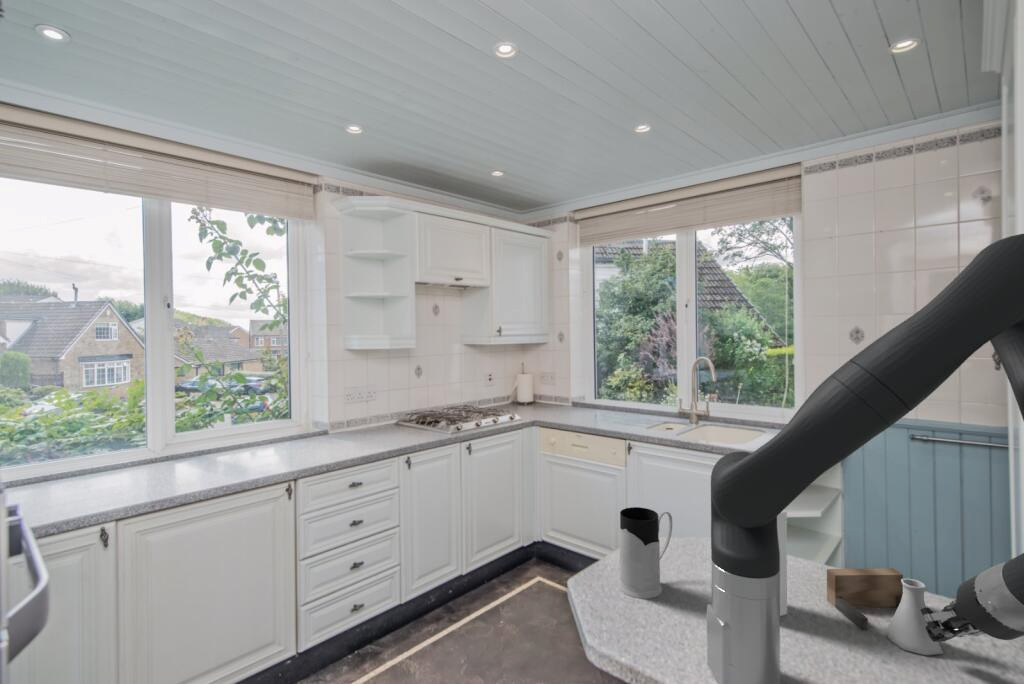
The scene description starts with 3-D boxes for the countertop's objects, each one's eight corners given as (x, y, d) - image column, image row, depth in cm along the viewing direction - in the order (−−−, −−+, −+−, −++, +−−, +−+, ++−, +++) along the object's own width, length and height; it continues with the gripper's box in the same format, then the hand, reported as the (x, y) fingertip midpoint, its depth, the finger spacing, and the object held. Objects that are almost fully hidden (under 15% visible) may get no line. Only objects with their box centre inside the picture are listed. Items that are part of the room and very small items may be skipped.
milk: (736, 605, 95) (734, 489, 94) (760, 598, 97) (759, 484, 96) (763, 622, 89) (761, 498, 88) (788, 614, 91) (786, 494, 91)
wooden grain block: (860, 629, 86) (860, 595, 86) (826, 599, 96) (826, 568, 95) (933, 629, 86) (934, 594, 86) (892, 599, 95) (892, 568, 95)
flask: (953, 659, 78) (953, 596, 78) (900, 654, 80) (900, 592, 79) (925, 632, 85) (925, 574, 85) (877, 627, 87) (877, 570, 87)
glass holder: (608, 584, 103) (607, 512, 102) (655, 565, 111) (654, 498, 110) (641, 603, 96) (640, 525, 95) (689, 581, 103) (688, 509, 103)
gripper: (1041, 569, 68) (961, 607, 81) (942, 570, 69) (878, 608, 81) (1084, 631, 63) (992, 662, 76) (977, 631, 63) (903, 662, 76)
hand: (933, 634), depth 78 cm, fingers closed
